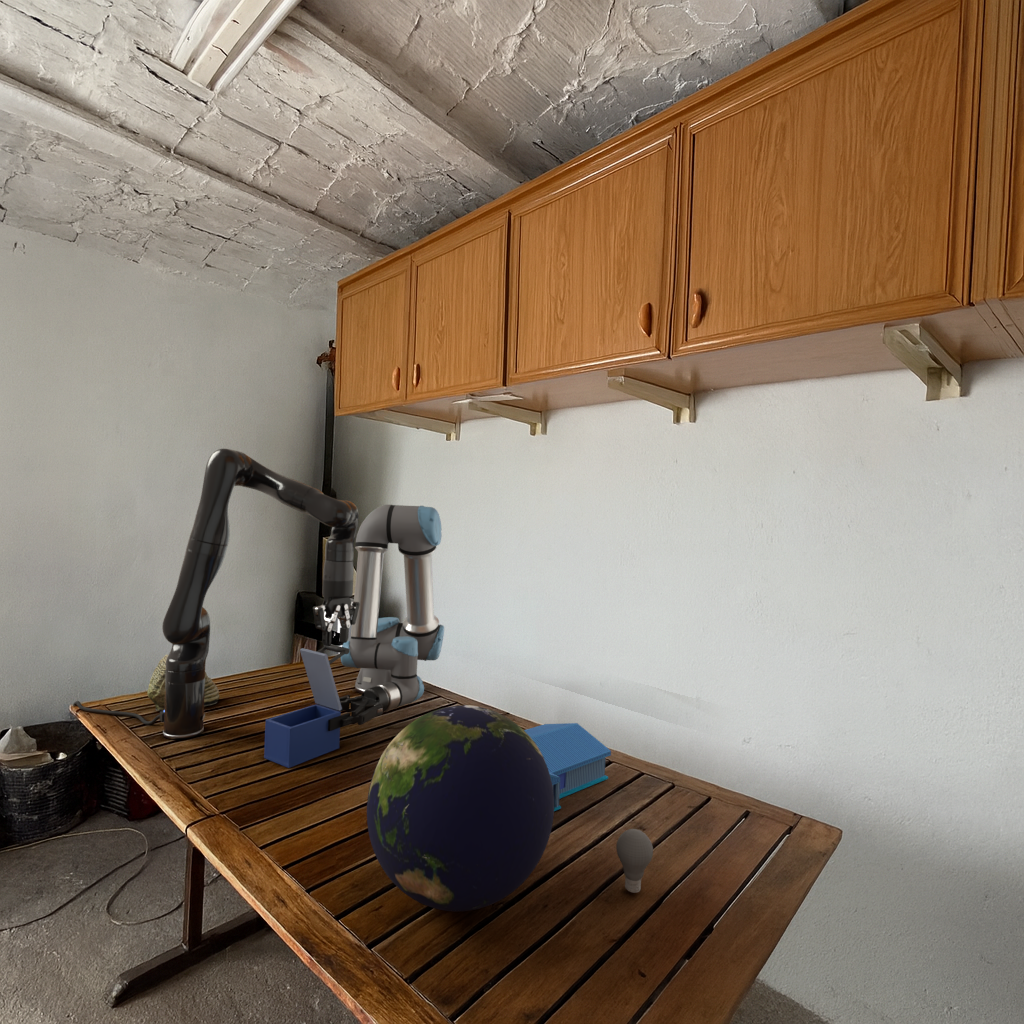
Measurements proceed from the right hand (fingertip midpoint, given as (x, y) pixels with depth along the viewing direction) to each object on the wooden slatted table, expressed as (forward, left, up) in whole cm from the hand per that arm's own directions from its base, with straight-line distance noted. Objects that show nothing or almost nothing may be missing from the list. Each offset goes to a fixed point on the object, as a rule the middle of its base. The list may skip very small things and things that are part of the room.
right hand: (315, 720), depth 159 cm
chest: (+3, -1, -7) cm, 8 cm away
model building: (+10, +53, -7) cm, 55 cm away
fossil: (-20, -50, -7) cm, 54 cm away
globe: (+50, +48, -7) cm, 70 cm away
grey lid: (-1, 0, +10) cm, 10 cm away
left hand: (-5, +2, +19) cm, 19 cm away
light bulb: (+44, +76, -7) cm, 88 cm away
